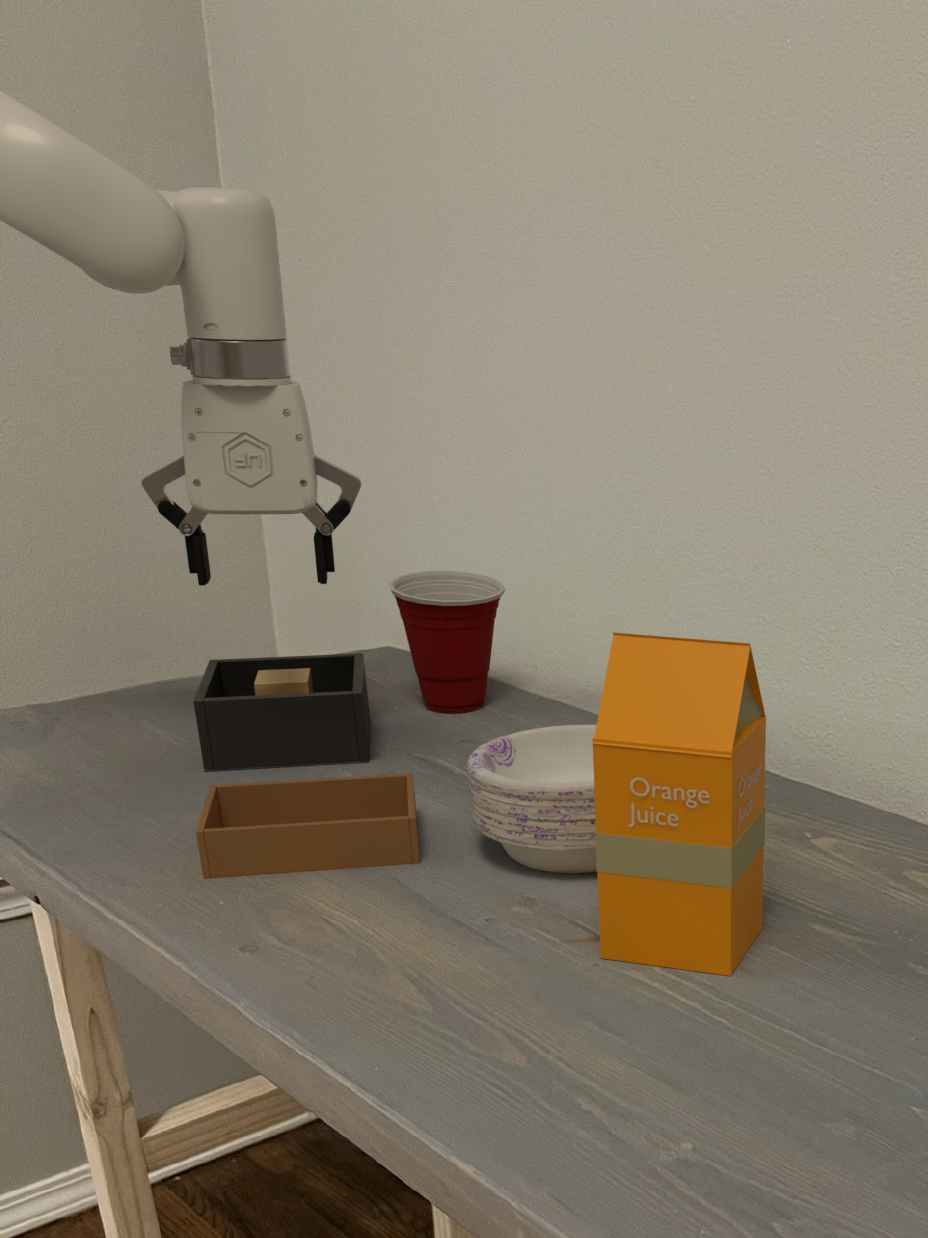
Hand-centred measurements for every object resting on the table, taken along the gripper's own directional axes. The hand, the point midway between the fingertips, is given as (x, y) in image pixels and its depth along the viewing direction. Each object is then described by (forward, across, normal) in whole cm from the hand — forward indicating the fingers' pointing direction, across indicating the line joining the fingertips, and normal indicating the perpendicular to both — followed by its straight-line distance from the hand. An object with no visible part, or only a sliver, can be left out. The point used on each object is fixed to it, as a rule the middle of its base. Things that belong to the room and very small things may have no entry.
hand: (264, 581), depth 125 cm
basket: (+15, +1, 0) cm, 15 cm away
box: (+15, +4, -26) cm, 30 cm away
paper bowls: (+15, +23, -30) cm, 40 cm away
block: (+14, +1, 0) cm, 14 cm away
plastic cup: (+14, +16, +11) cm, 24 cm away
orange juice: (+15, +28, -47) cm, 56 cm away
